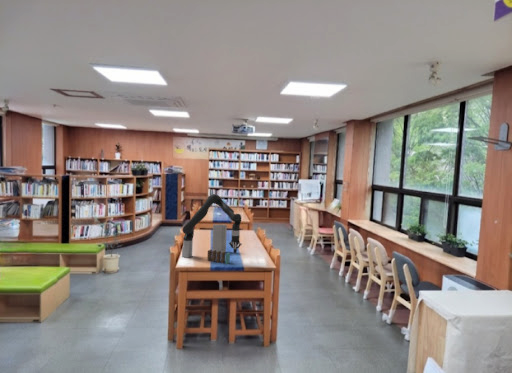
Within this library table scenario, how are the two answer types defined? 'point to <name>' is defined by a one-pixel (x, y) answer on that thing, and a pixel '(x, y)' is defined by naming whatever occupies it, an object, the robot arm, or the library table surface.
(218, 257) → the domino
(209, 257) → the domino
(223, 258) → the domino
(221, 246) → the tall gray block
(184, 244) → the robot arm
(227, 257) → the domino
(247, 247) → the library table surface
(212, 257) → the domino
